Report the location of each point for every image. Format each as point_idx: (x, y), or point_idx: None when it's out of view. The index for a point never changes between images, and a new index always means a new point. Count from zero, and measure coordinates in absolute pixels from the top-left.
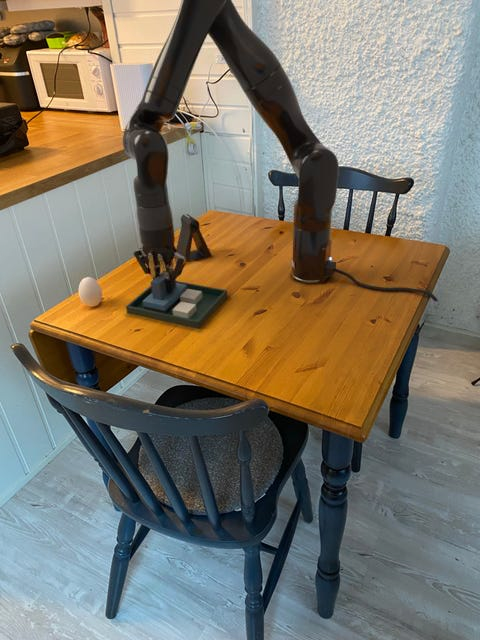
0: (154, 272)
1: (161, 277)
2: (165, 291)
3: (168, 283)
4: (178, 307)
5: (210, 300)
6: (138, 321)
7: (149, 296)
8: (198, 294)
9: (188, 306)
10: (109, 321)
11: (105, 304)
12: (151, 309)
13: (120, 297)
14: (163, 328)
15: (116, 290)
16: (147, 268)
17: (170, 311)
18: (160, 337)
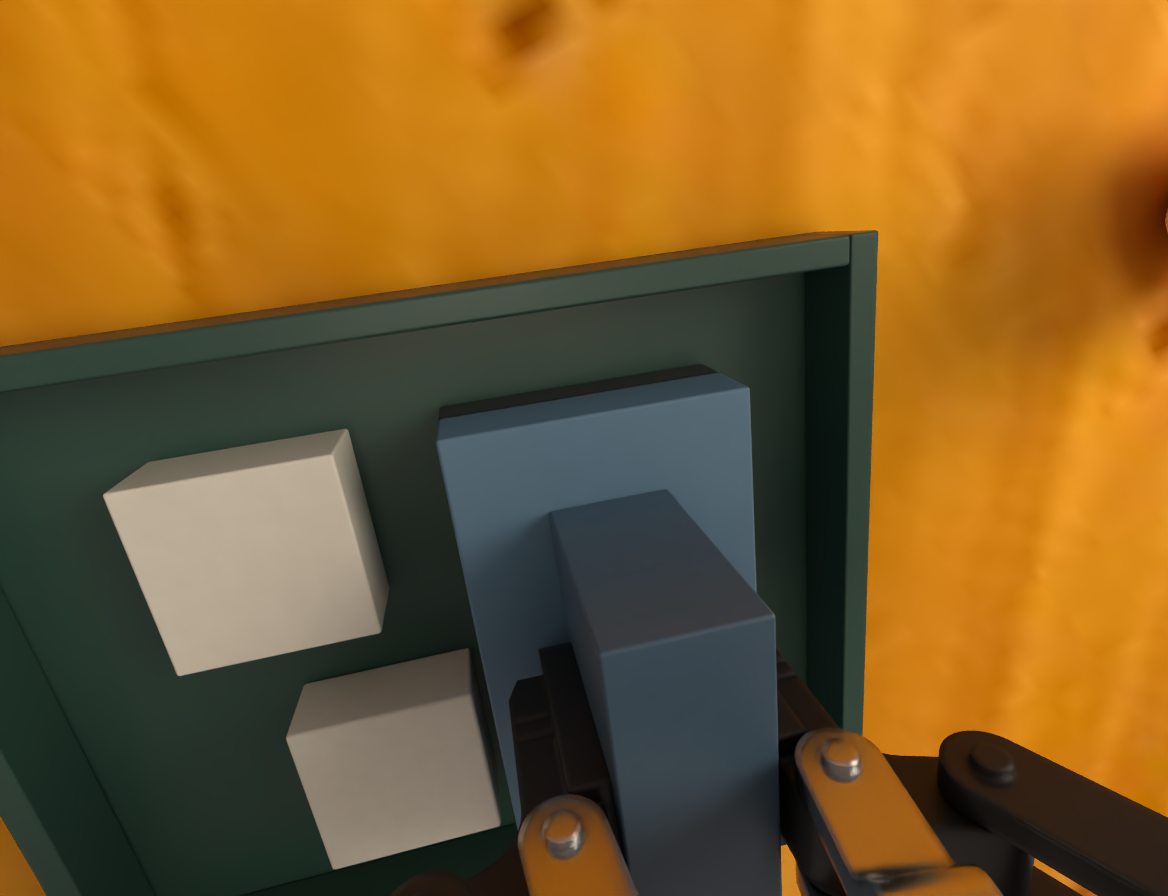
0: (841, 827)
1: (695, 799)
2: (572, 639)
3: (559, 759)
4: (303, 526)
5: (241, 816)
6: (637, 184)
7: (734, 501)
8: (317, 817)
9: (217, 603)
10: (912, 29)
11: (1097, 277)
12: (617, 385)
13: (1030, 438)
14: (293, 202)
15: (1112, 503)
16: (1020, 841)
17: (442, 481)
18: (168, 12)
